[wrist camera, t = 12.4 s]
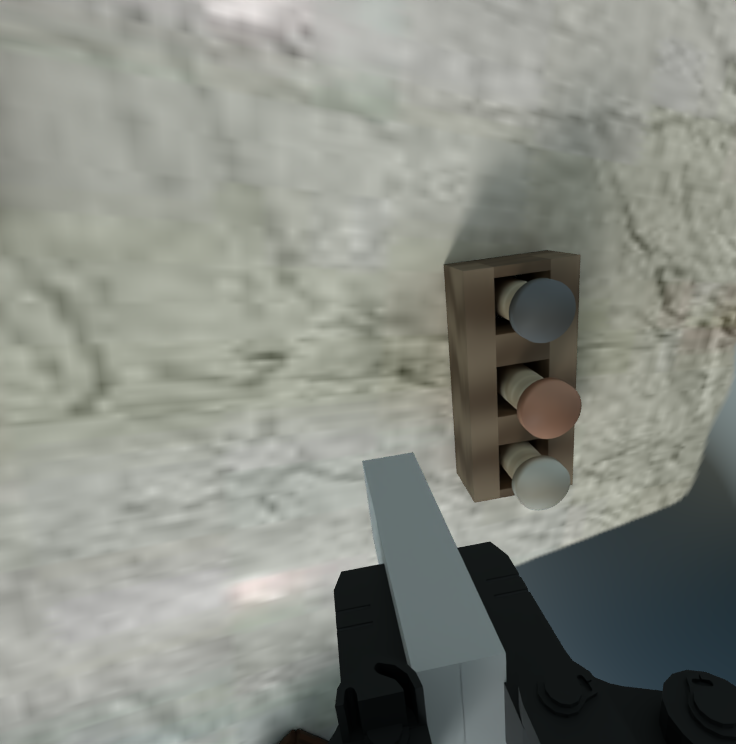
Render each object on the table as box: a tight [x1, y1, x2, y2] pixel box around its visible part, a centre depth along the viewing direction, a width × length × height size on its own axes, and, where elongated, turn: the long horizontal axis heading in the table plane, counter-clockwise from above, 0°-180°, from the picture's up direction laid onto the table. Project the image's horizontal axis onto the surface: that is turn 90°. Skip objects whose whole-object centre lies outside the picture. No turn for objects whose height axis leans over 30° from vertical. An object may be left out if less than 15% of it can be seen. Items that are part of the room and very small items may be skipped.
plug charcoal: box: [494, 276, 576, 343], centre depth 35 cm, size 4×4×8 cm
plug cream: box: [499, 441, 570, 510], centre depth 40 cm, size 4×4×8 cm
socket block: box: [444, 250, 580, 502], centre depth 40 cm, size 20×9×5 cm, turn 7°
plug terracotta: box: [496, 363, 581, 439], centre depth 37 cm, size 4×4×8 cm
